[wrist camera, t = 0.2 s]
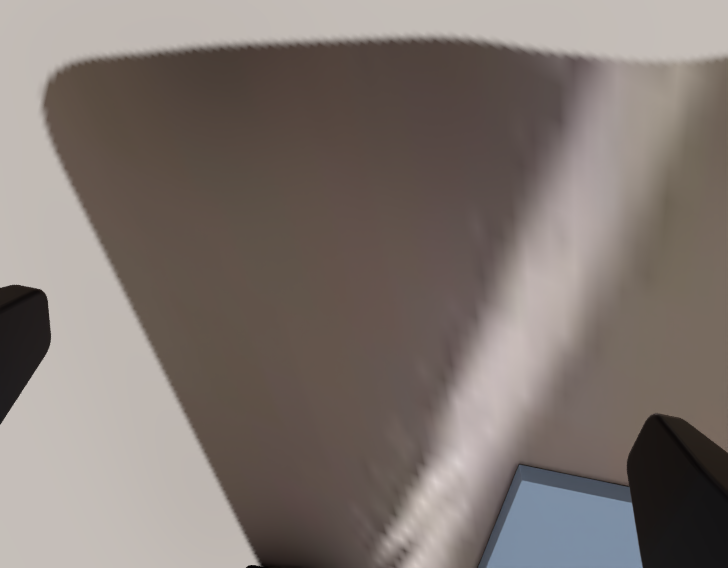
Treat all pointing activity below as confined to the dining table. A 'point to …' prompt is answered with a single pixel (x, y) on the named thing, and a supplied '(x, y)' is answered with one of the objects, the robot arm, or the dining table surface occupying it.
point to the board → (563, 524)
